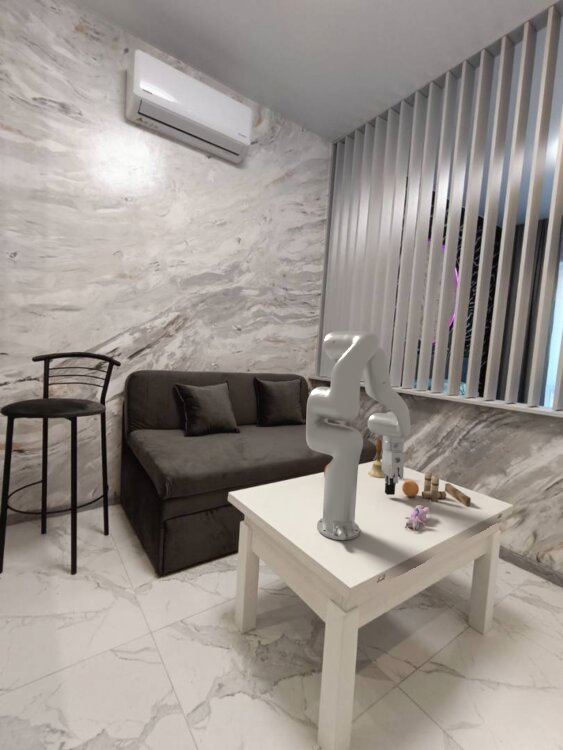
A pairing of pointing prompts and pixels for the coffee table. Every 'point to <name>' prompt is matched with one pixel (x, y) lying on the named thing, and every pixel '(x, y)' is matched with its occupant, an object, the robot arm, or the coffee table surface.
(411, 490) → the ball
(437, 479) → the pin
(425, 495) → the front pin
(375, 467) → the hand bell
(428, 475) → the pin
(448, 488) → the bar
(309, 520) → the coffee table surface
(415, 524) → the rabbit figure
